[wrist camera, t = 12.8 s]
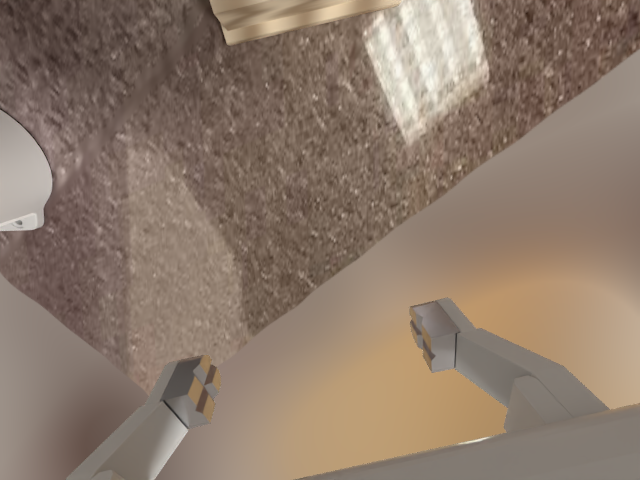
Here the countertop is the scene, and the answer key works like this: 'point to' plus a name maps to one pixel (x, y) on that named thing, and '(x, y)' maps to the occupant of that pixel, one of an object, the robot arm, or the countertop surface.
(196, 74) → the countertop surface
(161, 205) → the countertop surface
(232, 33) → the wooden divided tray
